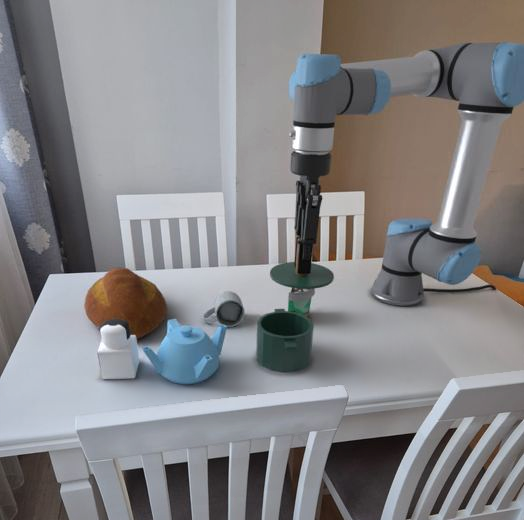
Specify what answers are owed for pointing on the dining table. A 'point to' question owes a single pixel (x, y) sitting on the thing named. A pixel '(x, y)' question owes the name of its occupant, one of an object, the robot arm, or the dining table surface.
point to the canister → (284, 341)
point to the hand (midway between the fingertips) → (302, 269)
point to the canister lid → (301, 275)
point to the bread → (126, 301)
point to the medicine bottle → (117, 350)
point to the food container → (300, 300)
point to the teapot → (187, 353)
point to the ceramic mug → (226, 310)
